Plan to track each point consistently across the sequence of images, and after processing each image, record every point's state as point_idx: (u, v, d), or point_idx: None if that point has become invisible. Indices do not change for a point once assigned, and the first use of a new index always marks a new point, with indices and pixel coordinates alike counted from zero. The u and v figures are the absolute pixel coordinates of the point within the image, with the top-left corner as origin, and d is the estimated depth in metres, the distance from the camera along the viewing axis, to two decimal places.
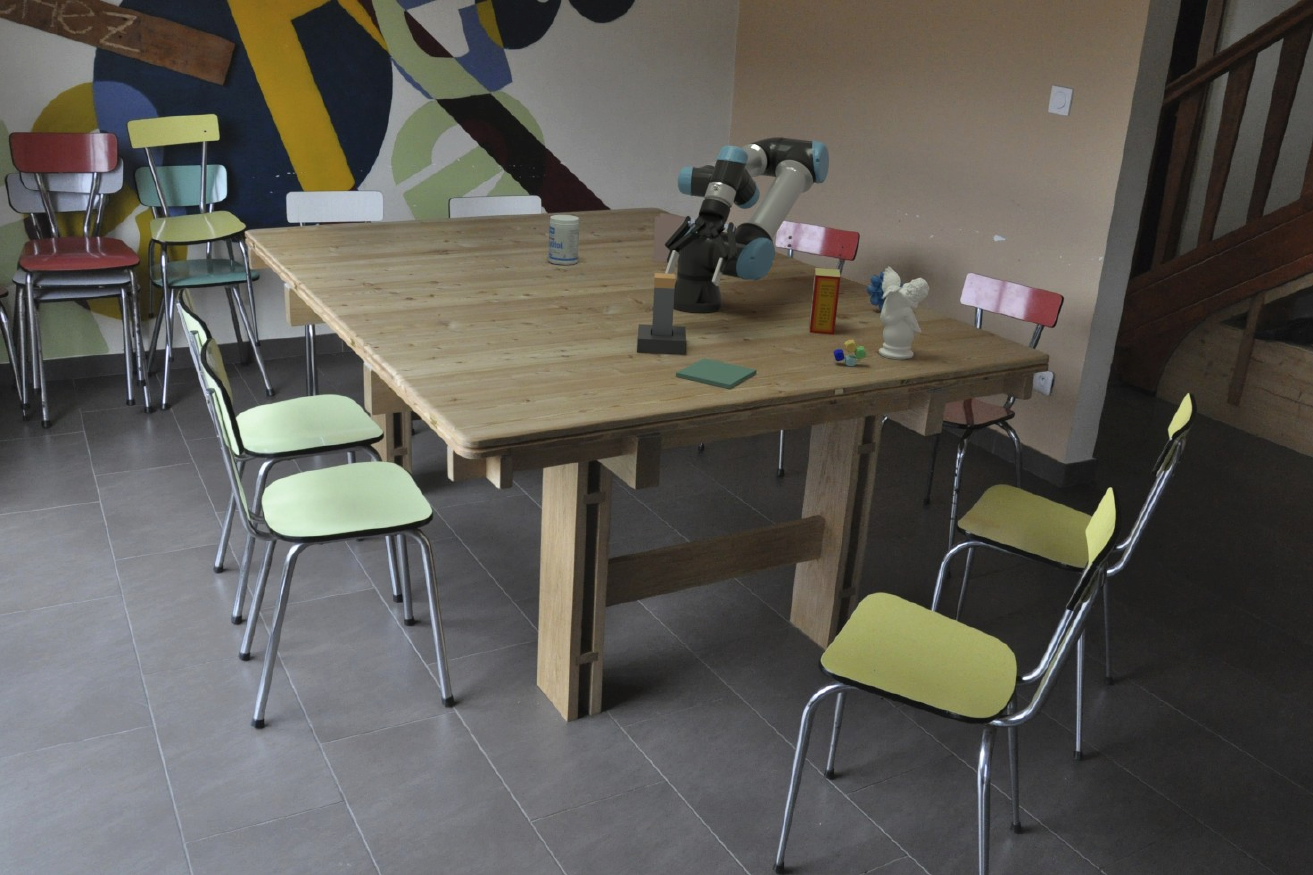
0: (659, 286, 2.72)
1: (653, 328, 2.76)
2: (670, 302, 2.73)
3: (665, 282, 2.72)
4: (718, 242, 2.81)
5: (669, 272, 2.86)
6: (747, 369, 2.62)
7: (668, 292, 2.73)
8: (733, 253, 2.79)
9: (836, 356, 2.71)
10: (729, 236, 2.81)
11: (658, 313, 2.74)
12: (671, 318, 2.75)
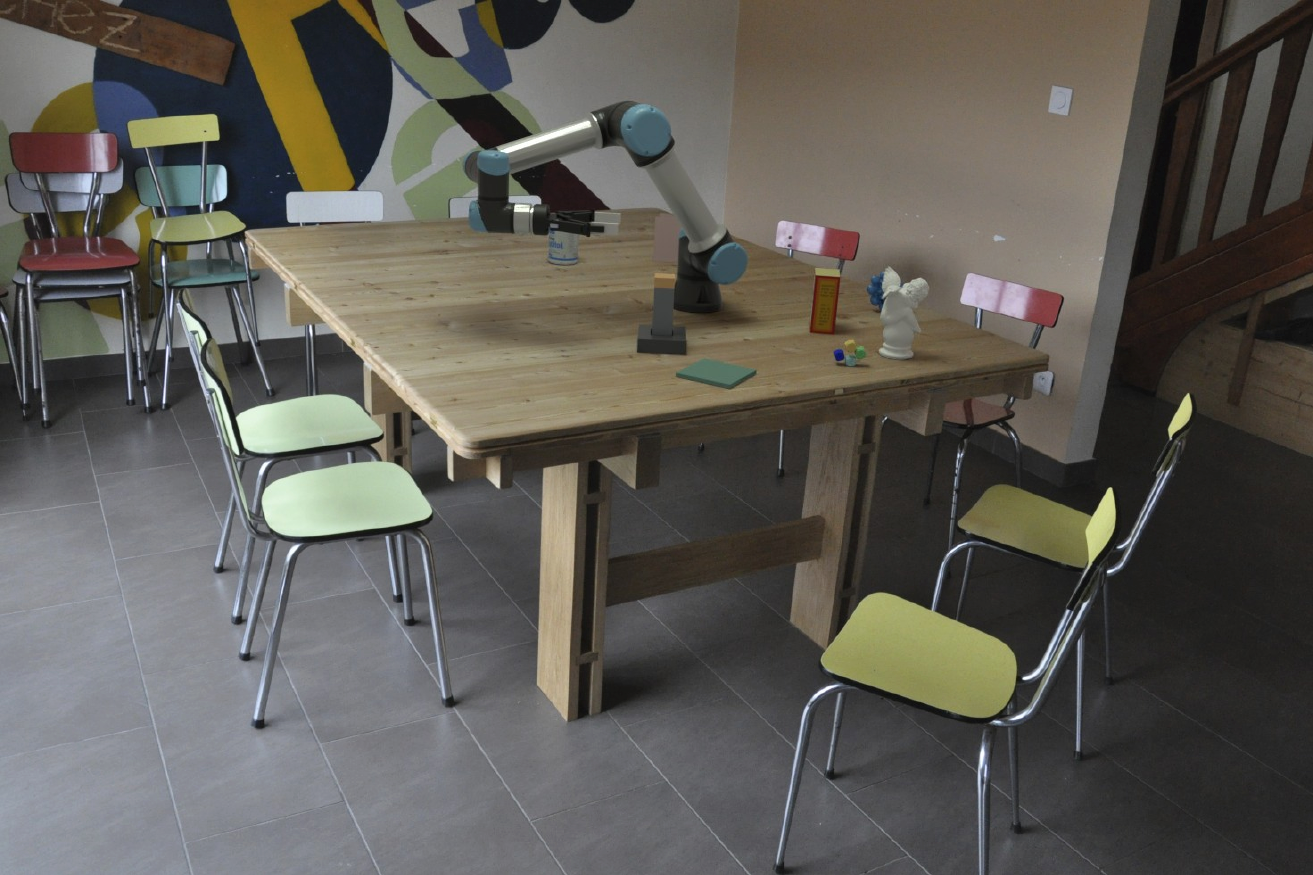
0: (659, 286, 2.72)
1: (653, 328, 2.76)
2: (670, 302, 2.73)
3: (665, 282, 2.72)
4: None
5: (617, 221, 2.79)
6: (747, 369, 2.62)
7: (668, 292, 2.73)
8: (583, 234, 2.64)
9: (836, 356, 2.71)
10: None
11: (658, 313, 2.74)
12: (671, 318, 2.75)
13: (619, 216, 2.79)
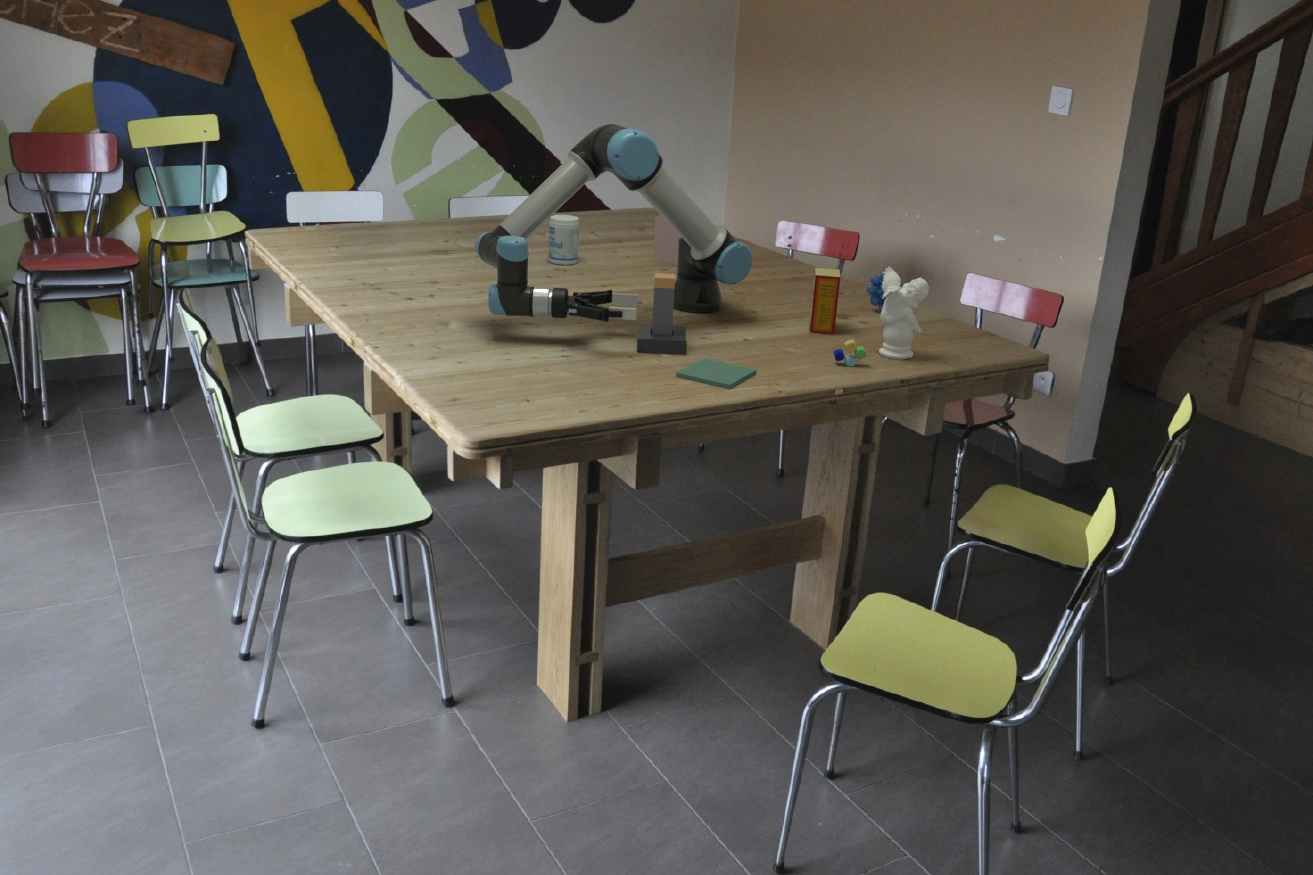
0: (659, 286, 2.72)
1: (653, 328, 2.76)
2: (670, 302, 2.73)
3: (665, 282, 2.72)
4: None
5: (635, 302, 2.82)
6: (747, 369, 2.62)
7: (668, 293, 2.73)
8: None
9: (836, 356, 2.71)
10: None
11: (658, 313, 2.74)
12: (671, 318, 2.75)
13: (636, 297, 2.82)
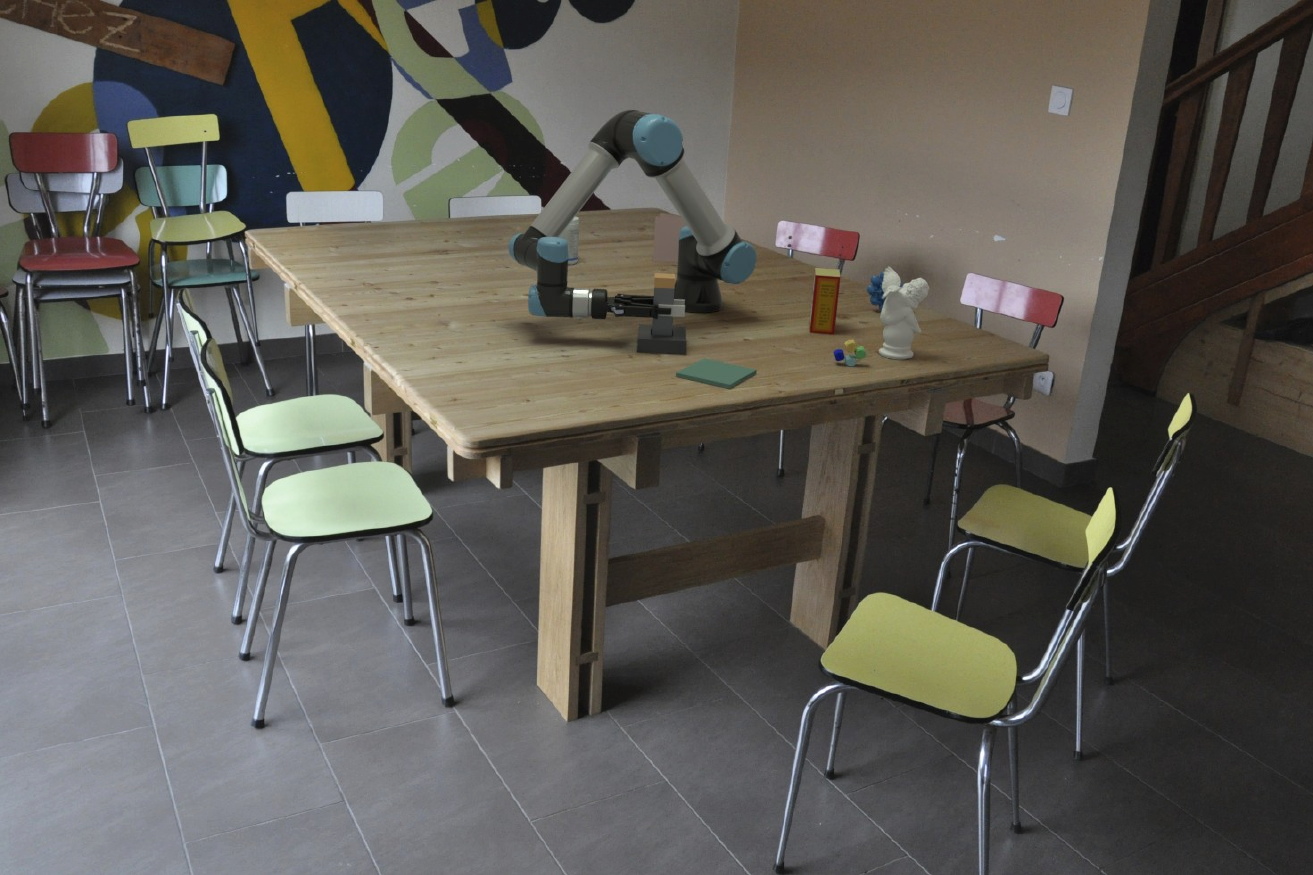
0: (659, 286, 2.72)
1: (653, 328, 2.76)
2: (670, 302, 2.73)
3: (665, 282, 2.72)
4: None
5: None
6: (747, 369, 2.62)
7: (668, 292, 2.73)
8: (651, 317, 2.71)
9: (836, 356, 2.71)
10: None
11: None
12: (671, 318, 2.75)
13: (683, 302, 2.79)
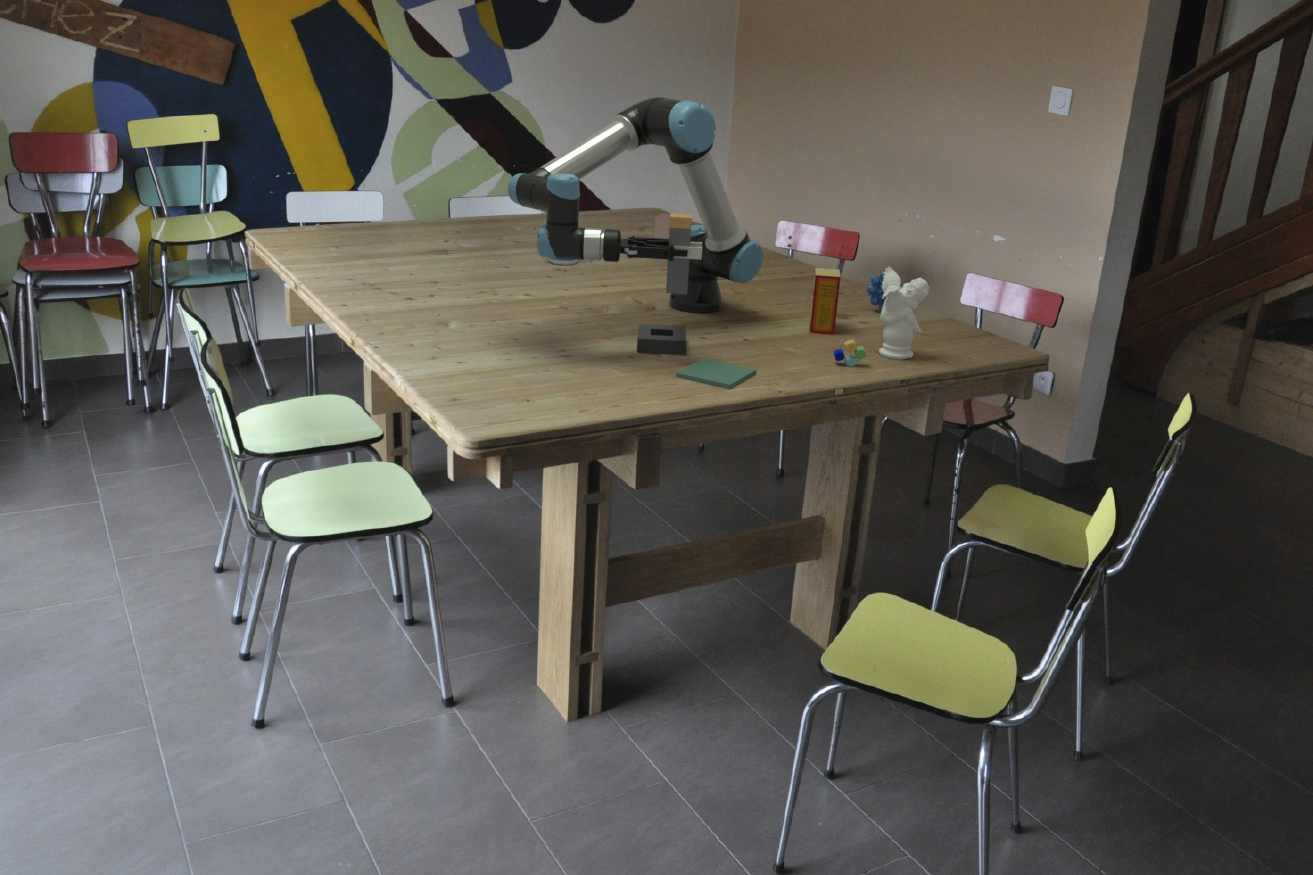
0: (675, 226, 2.57)
1: (668, 271, 2.61)
2: (687, 244, 2.59)
3: (681, 222, 2.57)
4: None
5: None
6: (747, 369, 2.62)
7: (684, 233, 2.58)
8: None
9: (836, 356, 2.71)
10: None
11: None
12: (687, 261, 2.60)
13: (700, 245, 2.64)
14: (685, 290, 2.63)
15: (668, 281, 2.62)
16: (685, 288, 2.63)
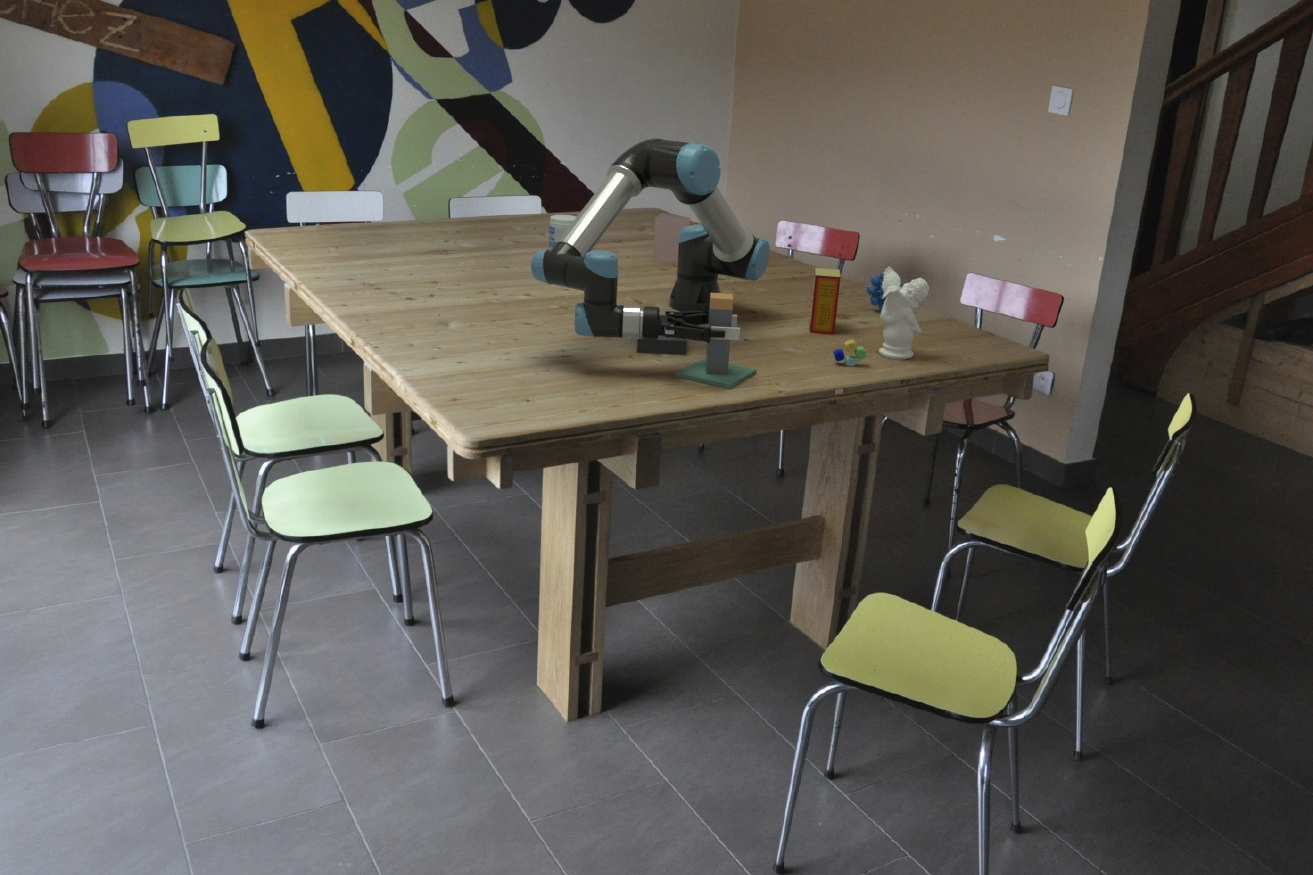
0: (716, 307, 2.52)
1: (708, 352, 2.56)
2: (728, 325, 2.53)
3: (722, 303, 2.51)
4: None
5: (733, 323, 2.61)
6: (747, 369, 2.62)
7: (725, 314, 2.52)
8: None
9: (836, 356, 2.71)
10: None
11: None
12: (728, 341, 2.55)
13: (735, 318, 2.60)
14: (726, 371, 2.57)
15: (708, 362, 2.57)
16: (726, 369, 2.57)
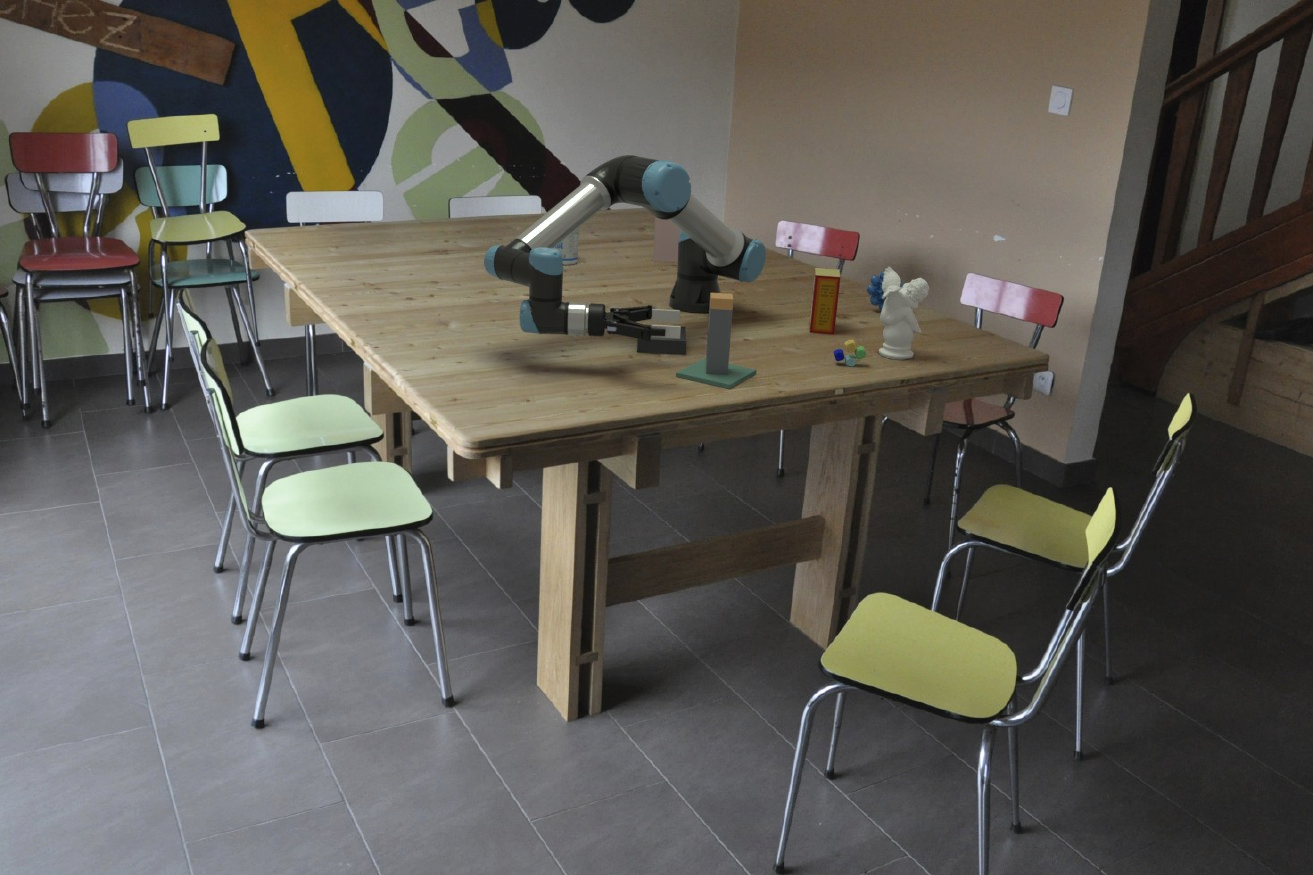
0: (716, 307, 2.52)
1: (708, 352, 2.56)
2: (728, 325, 2.53)
3: (722, 303, 2.51)
4: None
5: (676, 318, 2.62)
6: (747, 369, 2.62)
7: (725, 314, 2.52)
8: None
9: (836, 356, 2.71)
10: None
11: (715, 336, 2.54)
12: (728, 341, 2.55)
13: (678, 313, 2.62)
14: (726, 371, 2.57)
15: (708, 362, 2.57)
16: (726, 369, 2.57)
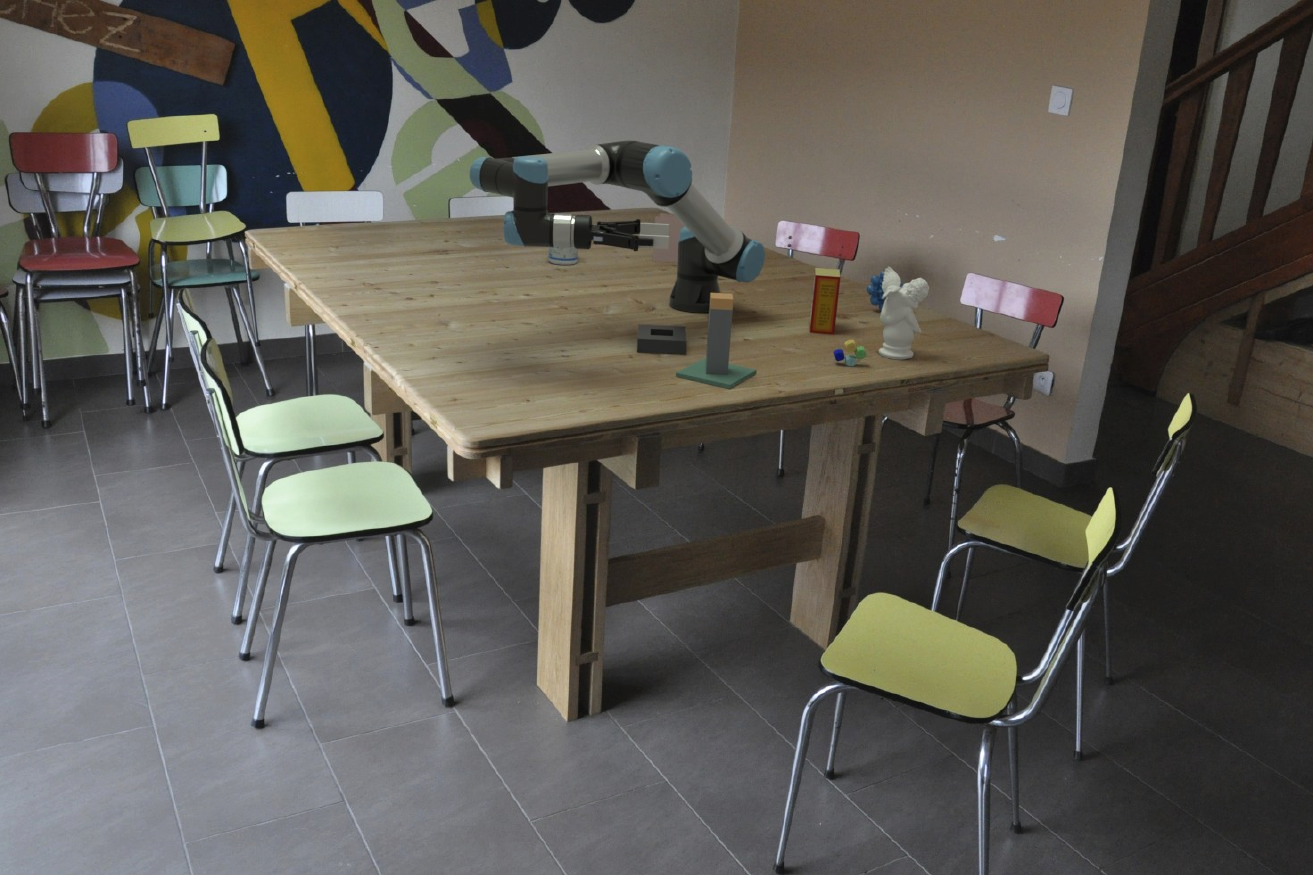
0: (716, 307, 2.52)
1: (708, 352, 2.56)
2: (728, 325, 2.53)
3: (722, 303, 2.51)
4: None
5: (665, 233, 2.55)
6: (747, 369, 2.62)
7: (725, 314, 2.52)
8: (630, 248, 2.40)
9: (836, 356, 2.71)
10: None
11: (715, 336, 2.54)
12: (728, 341, 2.55)
13: (667, 227, 2.54)
14: (726, 371, 2.57)
15: (708, 362, 2.57)
16: (726, 369, 2.57)
